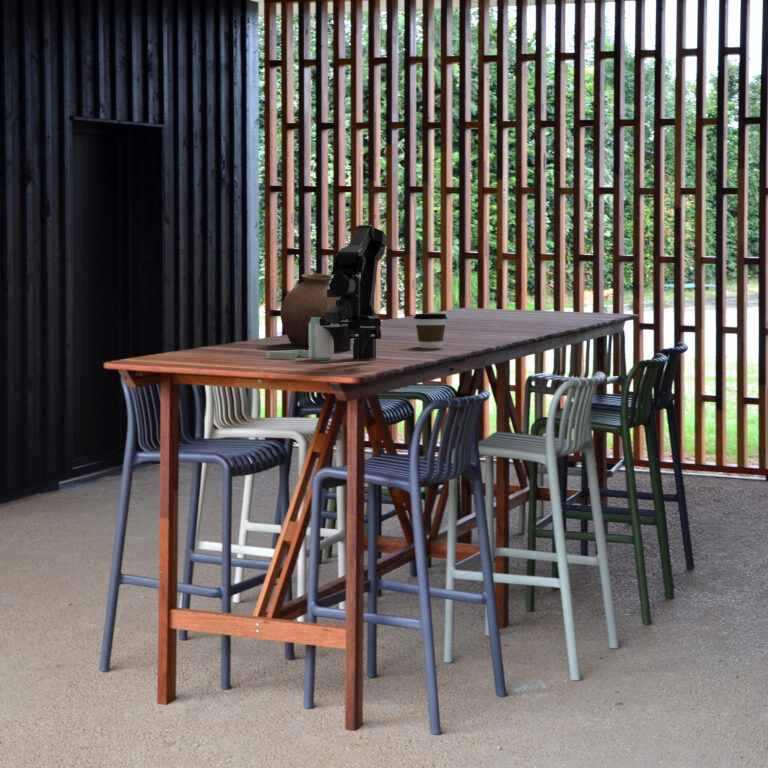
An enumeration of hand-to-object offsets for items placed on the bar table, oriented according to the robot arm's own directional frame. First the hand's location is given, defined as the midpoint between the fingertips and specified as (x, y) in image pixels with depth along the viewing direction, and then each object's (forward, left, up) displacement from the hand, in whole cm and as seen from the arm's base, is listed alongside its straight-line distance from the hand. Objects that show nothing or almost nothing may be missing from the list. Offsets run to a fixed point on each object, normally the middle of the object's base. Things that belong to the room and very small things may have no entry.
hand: (349, 352), depth 353 cm
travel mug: (-28, -31, -3) cm, 42 cm away
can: (0, -11, -3) cm, 12 cm away
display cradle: (0, -21, -2) cm, 21 cm away
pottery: (-35, -49, -3) cm, 60 cm away
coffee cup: (-57, -18, -3) cm, 60 cm away
